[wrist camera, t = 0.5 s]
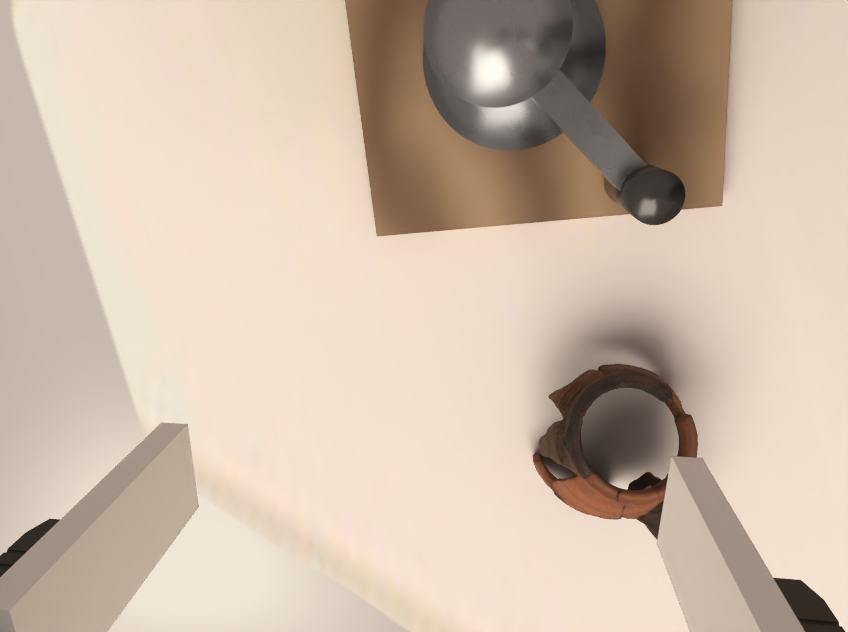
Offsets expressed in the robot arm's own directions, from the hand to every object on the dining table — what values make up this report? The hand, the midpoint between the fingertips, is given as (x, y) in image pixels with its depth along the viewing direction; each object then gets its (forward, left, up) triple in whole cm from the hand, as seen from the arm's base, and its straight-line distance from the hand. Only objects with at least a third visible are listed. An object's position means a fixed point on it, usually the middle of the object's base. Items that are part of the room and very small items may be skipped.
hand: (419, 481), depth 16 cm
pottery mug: (-9, +12, -22) cm, 26 cm away
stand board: (-5, -13, -21) cm, 25 cm away
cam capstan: (-6, -9, -20) cm, 23 cm away
